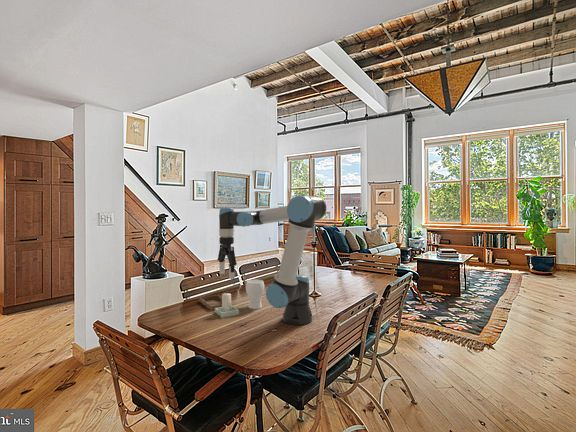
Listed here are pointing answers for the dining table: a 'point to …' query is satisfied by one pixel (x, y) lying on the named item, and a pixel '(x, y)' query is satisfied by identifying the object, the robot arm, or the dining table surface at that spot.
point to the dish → (233, 312)
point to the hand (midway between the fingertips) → (226, 276)
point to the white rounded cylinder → (226, 302)
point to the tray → (211, 301)
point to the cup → (255, 293)
